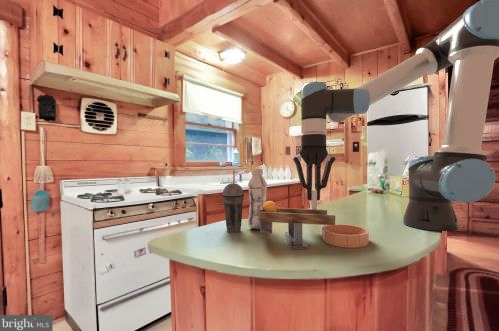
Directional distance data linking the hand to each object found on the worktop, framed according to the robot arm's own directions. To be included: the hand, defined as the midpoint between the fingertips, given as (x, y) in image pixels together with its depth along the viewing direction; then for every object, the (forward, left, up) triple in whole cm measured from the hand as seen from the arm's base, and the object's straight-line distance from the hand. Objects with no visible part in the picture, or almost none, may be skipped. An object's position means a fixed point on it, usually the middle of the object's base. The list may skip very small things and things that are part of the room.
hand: (313, 210), depth 78 cm
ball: (+14, +8, +2) cm, 16 cm away
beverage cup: (+25, -4, -7) cm, 27 cm away
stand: (+7, +8, -7) cm, 12 cm away
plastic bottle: (+17, -6, -7) cm, 20 cm away
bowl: (-7, +8, -7) cm, 12 cm away
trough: (+7, +4, -4) cm, 9 cm away
